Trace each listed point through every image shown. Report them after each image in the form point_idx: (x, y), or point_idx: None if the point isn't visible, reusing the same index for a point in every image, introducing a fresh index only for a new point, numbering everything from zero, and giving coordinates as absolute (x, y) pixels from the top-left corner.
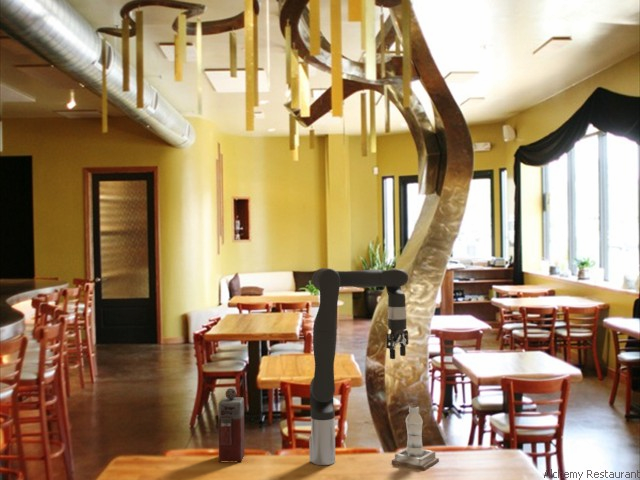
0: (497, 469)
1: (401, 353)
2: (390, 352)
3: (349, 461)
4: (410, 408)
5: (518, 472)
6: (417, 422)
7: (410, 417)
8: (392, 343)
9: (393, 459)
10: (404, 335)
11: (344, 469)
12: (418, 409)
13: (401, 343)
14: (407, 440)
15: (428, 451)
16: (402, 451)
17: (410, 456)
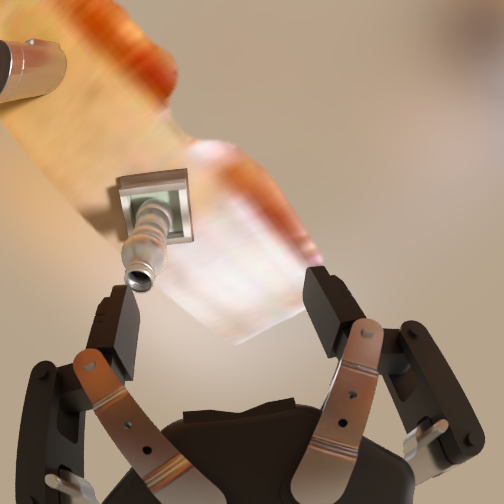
0: (221, 315)
1: (312, 287)
2: (92, 339)
3: (75, 103)
4: (124, 277)
5: (227, 334)
6: (134, 273)
7: (124, 264)
8: (75, 440)
9: (126, 178)
10: (407, 438)
11: (40, 133)
12: (143, 289)
13: (369, 351)
14: (139, 218)
15: (183, 231)
16: (144, 191)
17: (130, 222)
